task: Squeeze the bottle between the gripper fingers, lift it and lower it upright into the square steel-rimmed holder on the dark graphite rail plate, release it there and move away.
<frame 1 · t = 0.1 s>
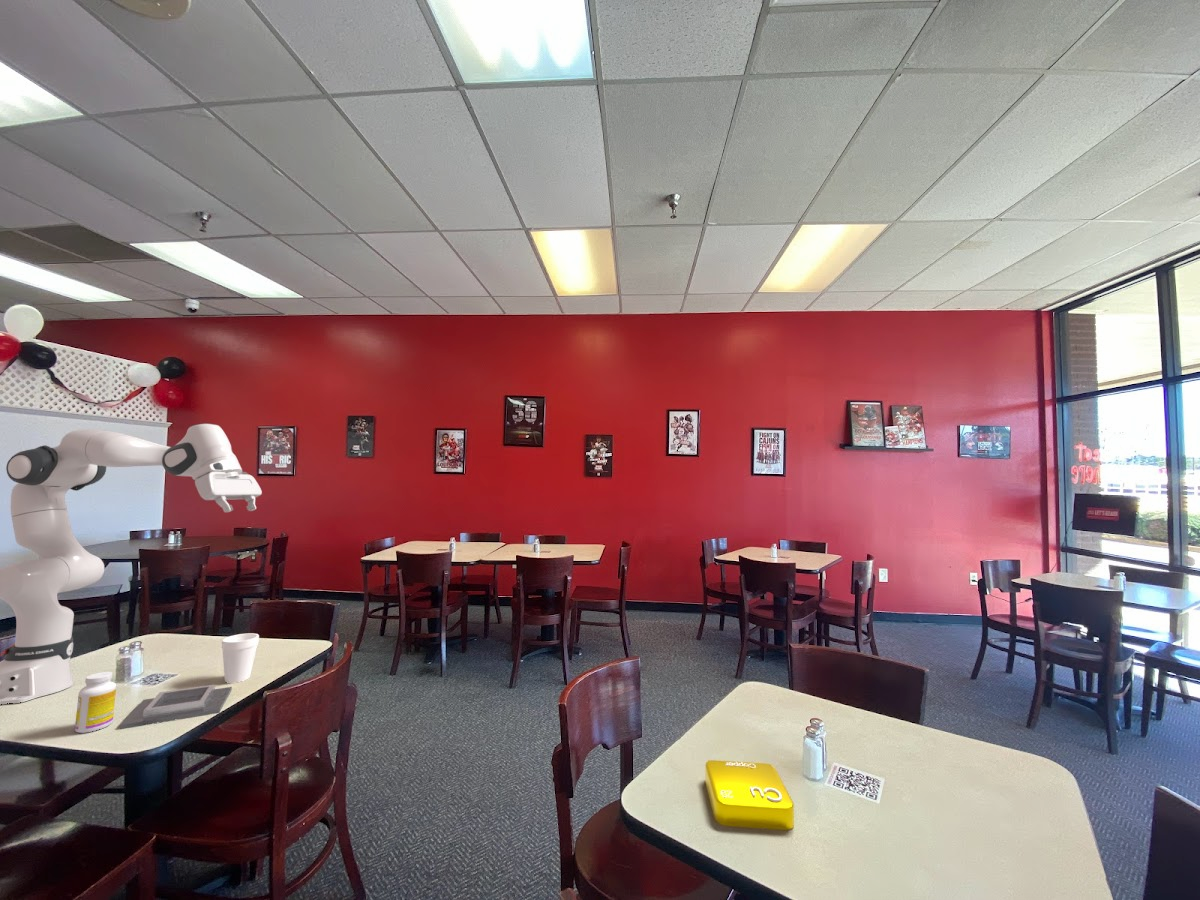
hand: (241, 510, 144), 54 cm above the table, tool tilted 30°, fingers open, 8 cm apart
rail holder: (180, 707, 130), on the table
element tile: (746, 805, 95), on the table
supplement bottle: (93, 728, 119), on the table
foam cup: (237, 680, 150), on the table
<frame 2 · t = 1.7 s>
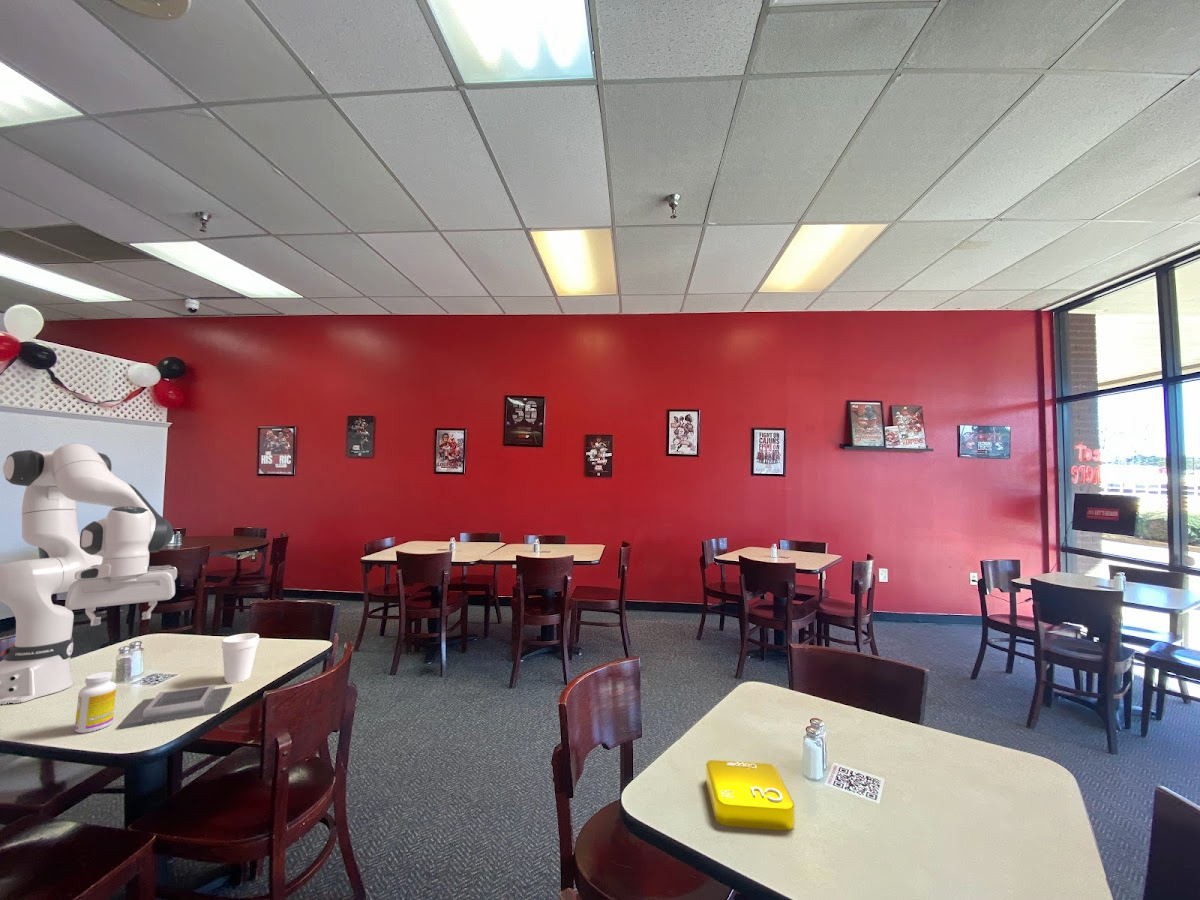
hand: (121, 622, 123), 26 cm above the table, tool pointing down, fingers open, 8 cm apart
nothing on the table moved.
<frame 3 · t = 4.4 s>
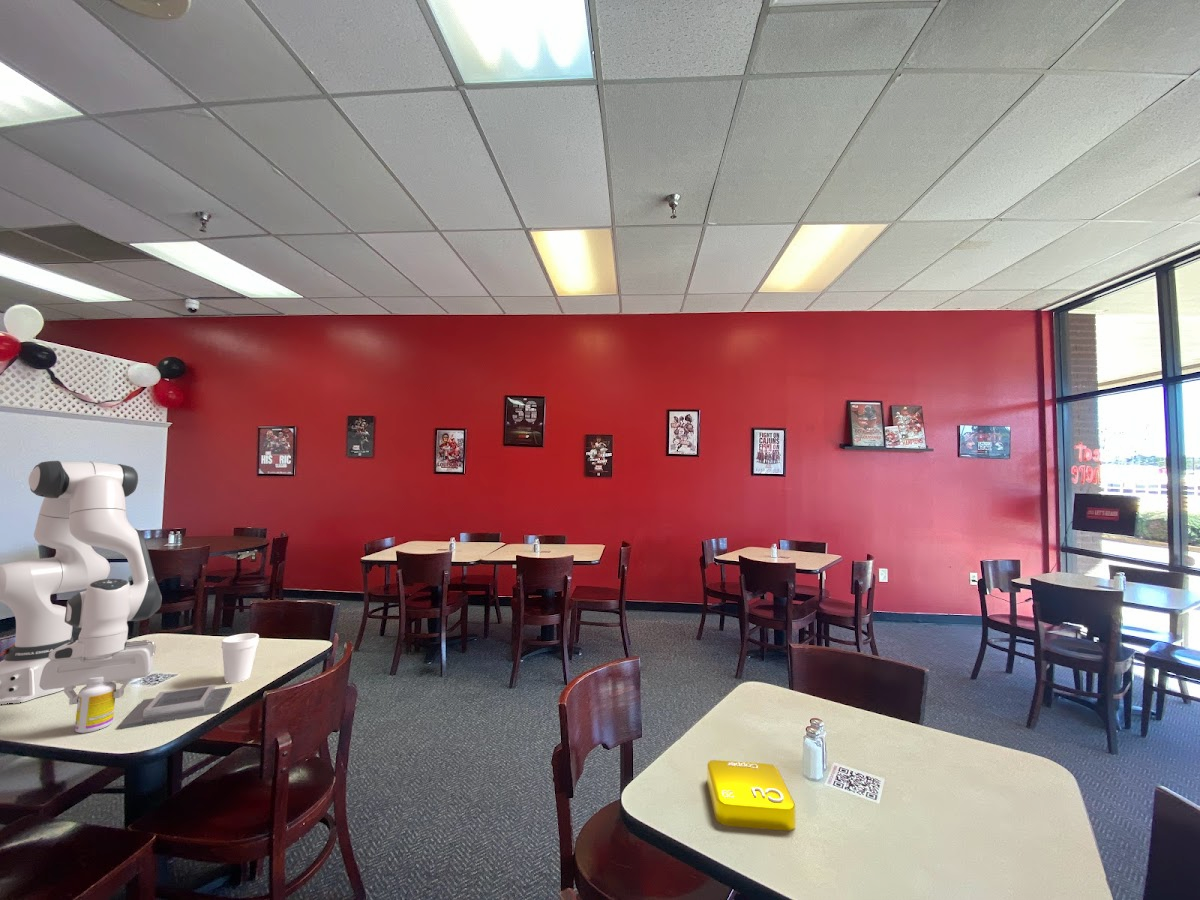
hand: (96, 700, 120), 7 cm above the table, tool pointing down, fingers closed on supplement bottle, 7 cm apart
supplement bottle: (93, 728, 119), on the table, touching gripper
everything else where it was.
when the fingers open (9 cm above the table, at t = 10.3 s): supplement bottle stays where it is, resting on rail holder.
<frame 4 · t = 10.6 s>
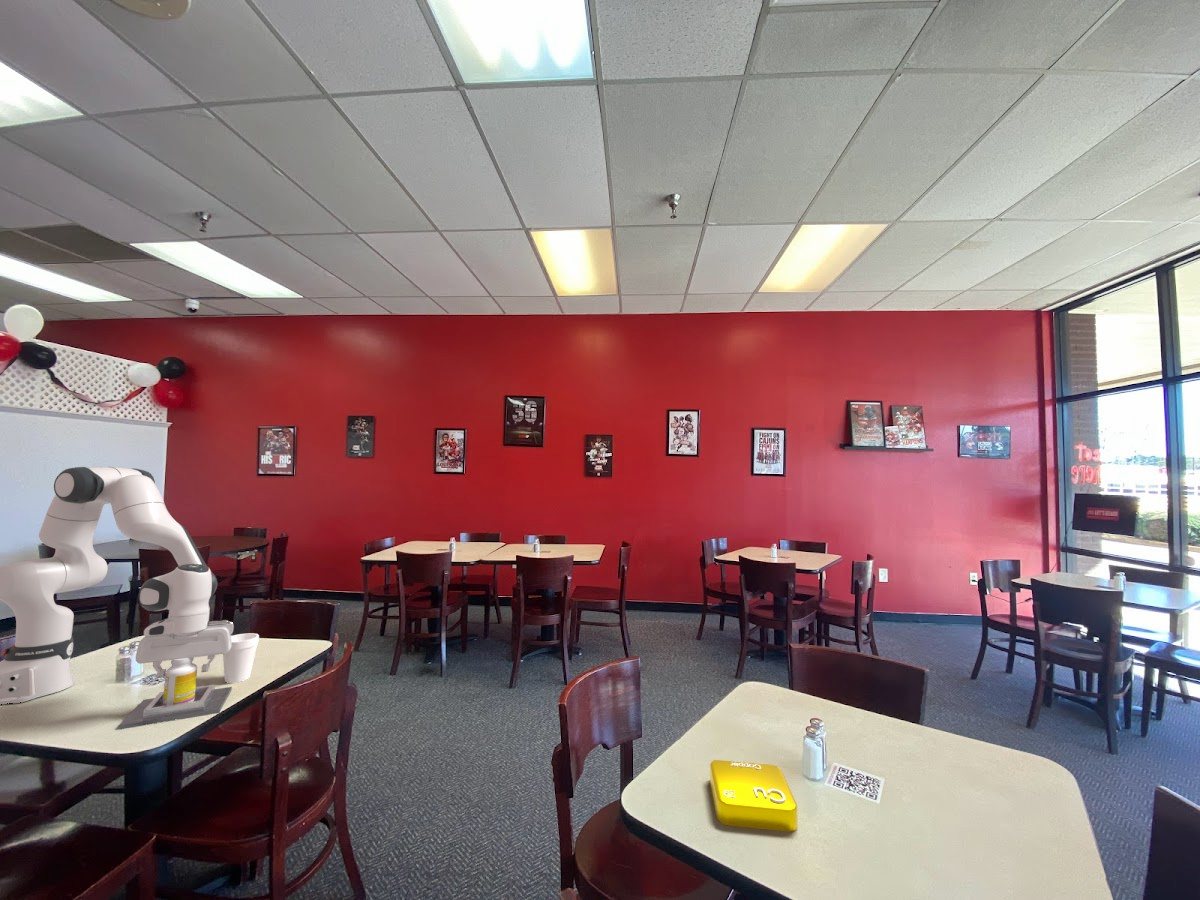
hand: (183, 674, 131), 9 cm above the table, tool pointing down, fingers open, 8 cm apart
supplement bottle: (178, 705, 130), point 1 cm above the table, touching rail holder
everything else where it was.
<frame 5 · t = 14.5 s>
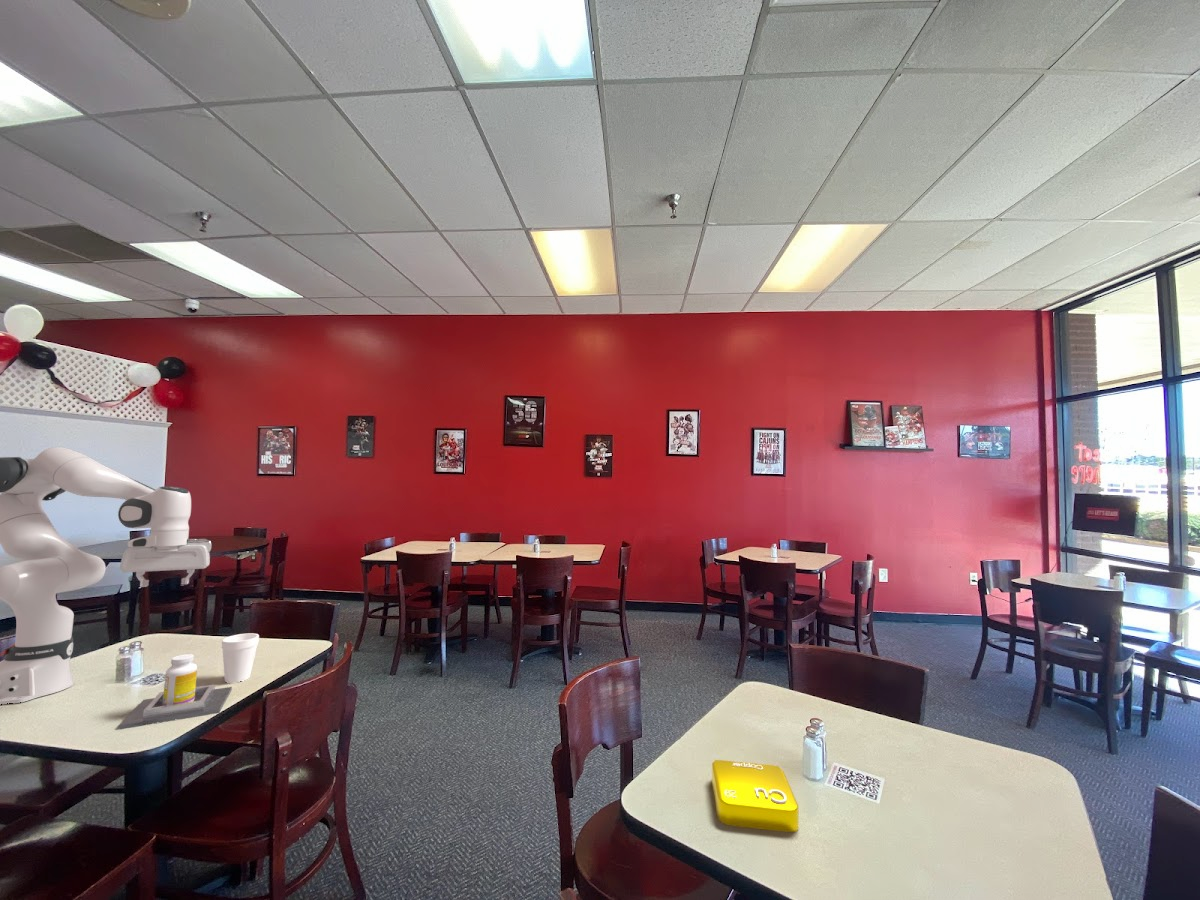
hand: (164, 585, 143), 31 cm above the table, tool pointing down, fingers open, 8 cm apart
at the end: supplement bottle 0.5 cm off-centre on the rail holder, point 0.8 cm above the rail holder's base; supplement bottle tilted 0°; the gripper is holding nothing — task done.
